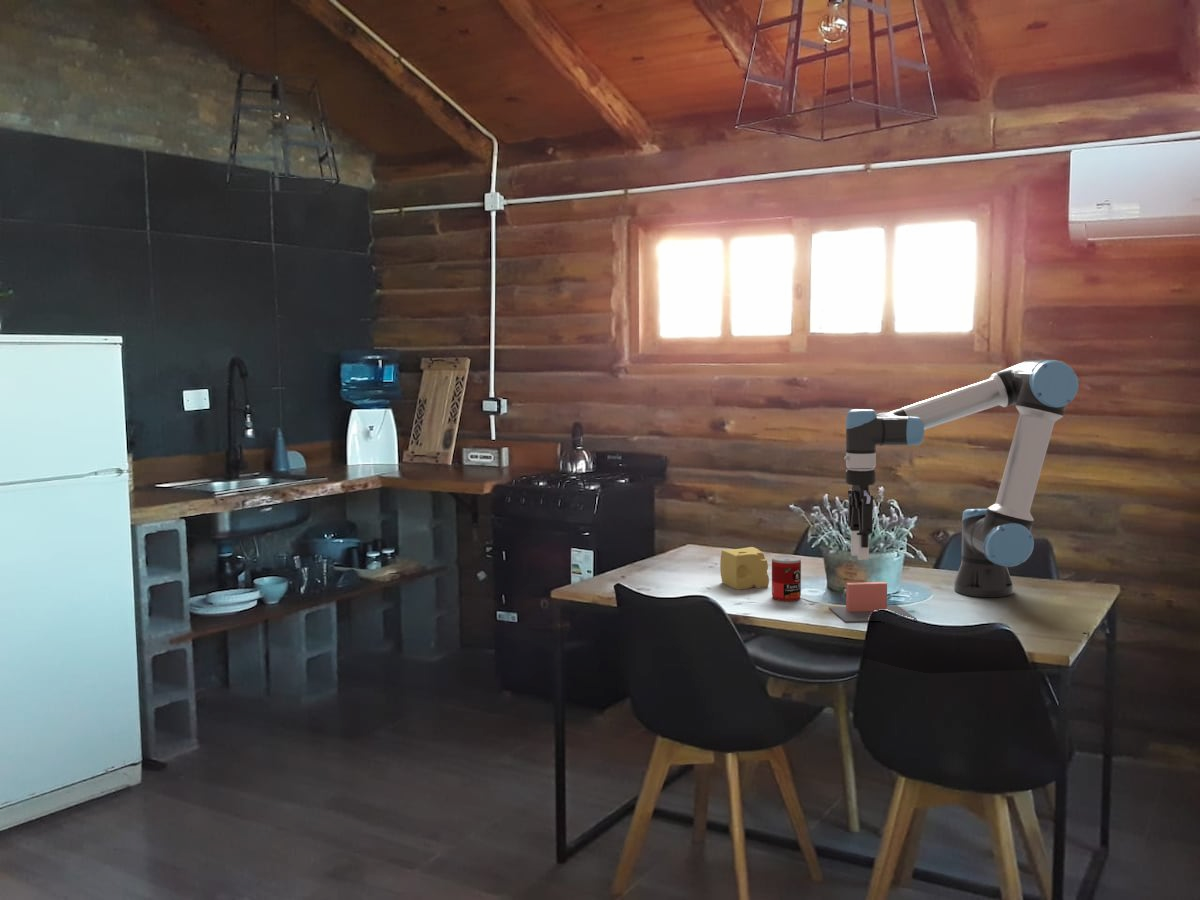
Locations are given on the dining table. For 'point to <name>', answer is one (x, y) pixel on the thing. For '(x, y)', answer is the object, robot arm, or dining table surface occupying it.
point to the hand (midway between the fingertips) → (859, 557)
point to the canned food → (786, 578)
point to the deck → (866, 596)
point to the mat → (863, 613)
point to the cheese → (744, 568)
